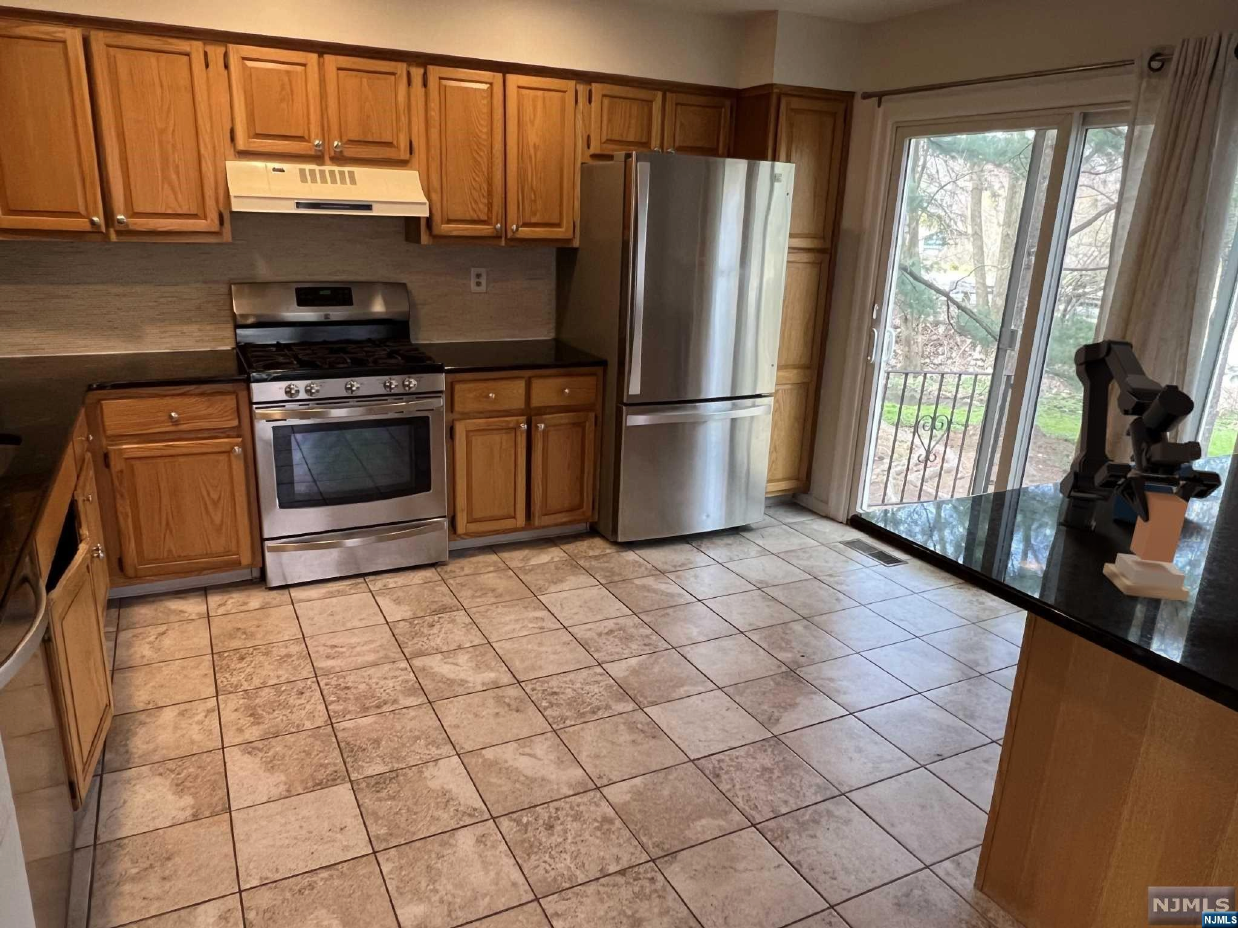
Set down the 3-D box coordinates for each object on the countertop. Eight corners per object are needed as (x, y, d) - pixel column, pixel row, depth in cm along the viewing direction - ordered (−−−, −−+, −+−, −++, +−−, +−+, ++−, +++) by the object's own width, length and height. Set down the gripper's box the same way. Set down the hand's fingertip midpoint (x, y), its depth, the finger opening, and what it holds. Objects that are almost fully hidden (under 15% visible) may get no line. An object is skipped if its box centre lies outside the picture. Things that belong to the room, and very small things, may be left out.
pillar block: (1130, 549, 152) (1144, 491, 149) (1159, 552, 152) (1174, 494, 148) (1141, 559, 147) (1156, 500, 144) (1172, 563, 147) (1188, 503, 144)
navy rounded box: (1145, 505, 200) (1166, 423, 195) (1186, 516, 194) (1208, 431, 188) (1103, 518, 188) (1124, 431, 183) (1145, 531, 181) (1168, 441, 176)
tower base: (1102, 575, 157) (1104, 562, 156) (1159, 581, 155) (1162, 569, 155) (1124, 597, 147) (1127, 584, 146) (1186, 604, 146) (1189, 591, 145)
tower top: (1114, 565, 155) (1117, 553, 154) (1161, 571, 154) (1165, 558, 153) (1132, 583, 147) (1135, 569, 147) (1182, 588, 146) (1185, 575, 145)
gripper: (1115, 417, 148) (1127, 496, 141) (1231, 427, 145) (1248, 508, 138) (1089, 449, 158) (1098, 524, 150) (1197, 459, 155) (1212, 536, 148)
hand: (1163, 523), depth 146 cm, fingers open, 5 cm apart
